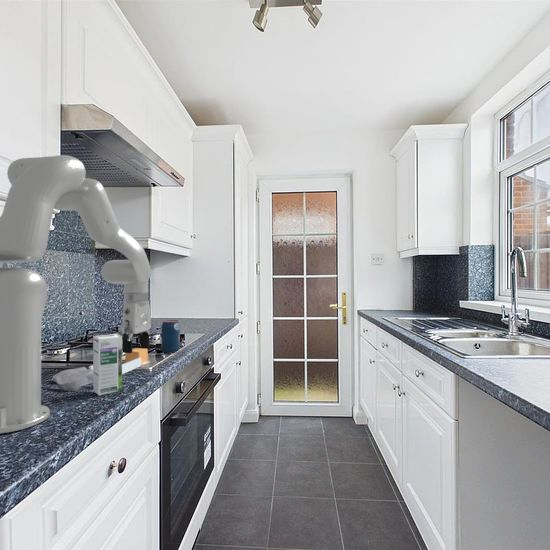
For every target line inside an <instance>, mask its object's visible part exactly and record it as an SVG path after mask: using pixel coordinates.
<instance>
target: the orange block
mask: <svg viewBox="0 0 550 550" xmlns="http://www.w3.org/2000/svg"><path fill="white" fill-rule="evenodd" d="M148 350H149V349H148V348H139V347H132V353H124V354H125V358H124V360H125V363H127V362H130V361H132V360H135V359H137V358H141V363H143V362H145V361H149V360H148V357H149V355H148Z"/></svg>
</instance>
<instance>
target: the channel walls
mask: <svg viewBox="0 0 550 550" xmlns="http://www.w3.org/2000/svg"><path fill="white" fill-rule="evenodd" d="M137 367H138V368H139V367H142V366H141V358H137V359H135V360H132V361H130V362H127V363H125V364H122V375H124V374H126V373H129V372H130V371H133V370H135V369H137ZM88 369H93V364H91V365H90V366H88Z"/></svg>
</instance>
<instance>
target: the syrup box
mask: <svg viewBox="0 0 550 550" xmlns="http://www.w3.org/2000/svg"><path fill="white" fill-rule="evenodd" d="M92 343H93V344H92V348H93V349H92V351H93V353H92V354H93V355H92V356H93V361H92V362H93V363H92V365H93V383H92V384H93V391H94V392H95V394H97V396H98V397H100V396H103V395H108V394H109V395H110V394H114V393H120V392H122V391H123V389H122V388H123V374H122V362H123V352H122V336H121V335H120V334H119V333H113V334H101V335H93V337H92Z"/></svg>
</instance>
